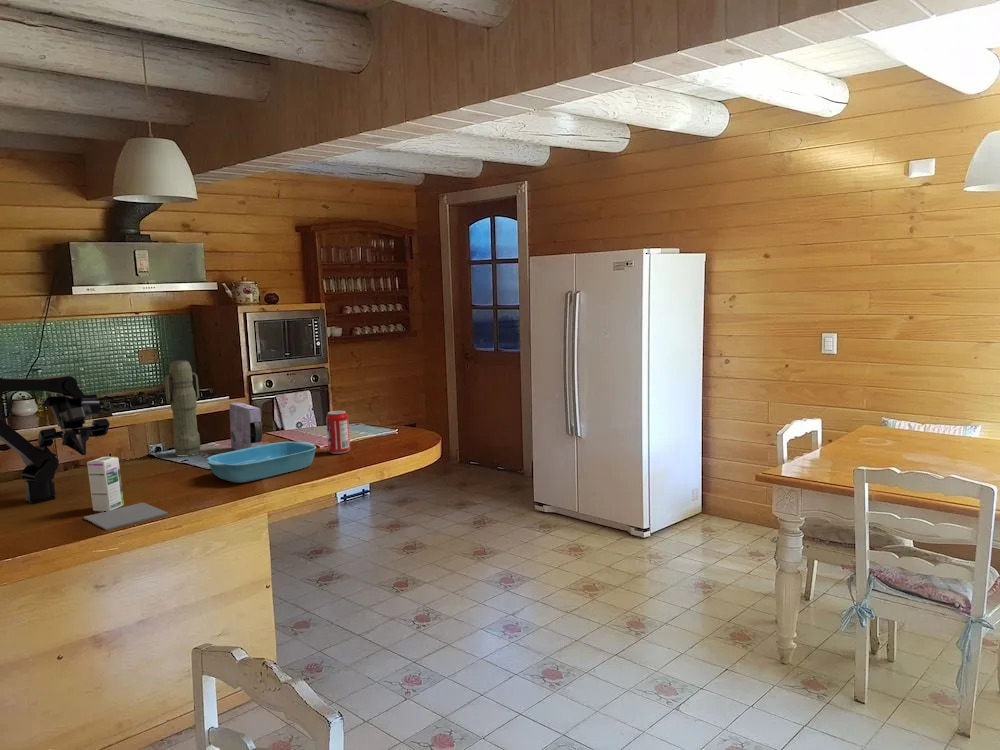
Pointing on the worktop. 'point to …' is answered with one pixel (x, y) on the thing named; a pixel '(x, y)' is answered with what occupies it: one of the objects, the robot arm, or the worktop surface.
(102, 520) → the mat
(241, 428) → the cake pan box
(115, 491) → the syrup box
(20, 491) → the worktop surface
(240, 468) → the casserole dish
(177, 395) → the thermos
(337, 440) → the soda can
